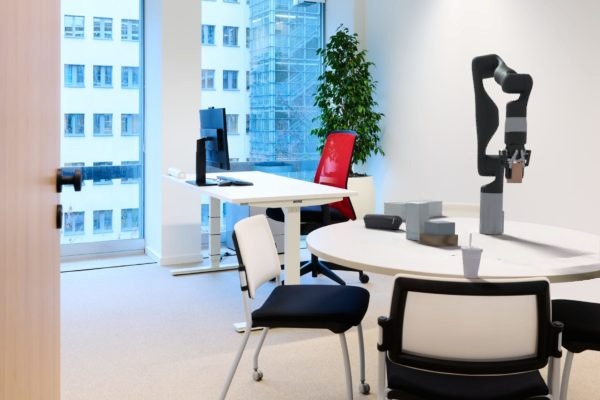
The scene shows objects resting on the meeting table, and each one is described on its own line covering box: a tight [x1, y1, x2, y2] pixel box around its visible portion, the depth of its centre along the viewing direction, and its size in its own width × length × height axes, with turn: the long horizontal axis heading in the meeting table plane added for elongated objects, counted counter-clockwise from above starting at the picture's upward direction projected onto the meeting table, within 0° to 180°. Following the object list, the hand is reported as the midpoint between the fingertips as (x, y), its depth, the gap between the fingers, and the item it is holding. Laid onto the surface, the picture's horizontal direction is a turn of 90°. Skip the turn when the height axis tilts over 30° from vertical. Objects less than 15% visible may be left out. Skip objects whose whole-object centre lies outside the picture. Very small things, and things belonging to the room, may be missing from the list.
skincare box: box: [405, 202, 431, 242], centre depth 252 cm, size 8×6×15 cm
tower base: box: [418, 233, 459, 248], centre depth 239 cm, size 10×10×4 cm
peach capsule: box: [506, 162, 523, 184], centre depth 227 cm, size 5×5×7 cm
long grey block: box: [383, 199, 443, 221], centre depth 316 cm, size 32×11×11 cm, turn 131°
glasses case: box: [362, 213, 403, 231], centre depth 279 cm, size 18×10×8 cm, turn 60°
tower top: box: [424, 220, 456, 236], centre depth 239 cm, size 8×8×4 cm
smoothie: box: [460, 232, 484, 279], centre depth 192 cm, size 6×6×14 cm
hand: (514, 178), depth 227 cm, fingers closed on peach capsule, 5 cm apart
